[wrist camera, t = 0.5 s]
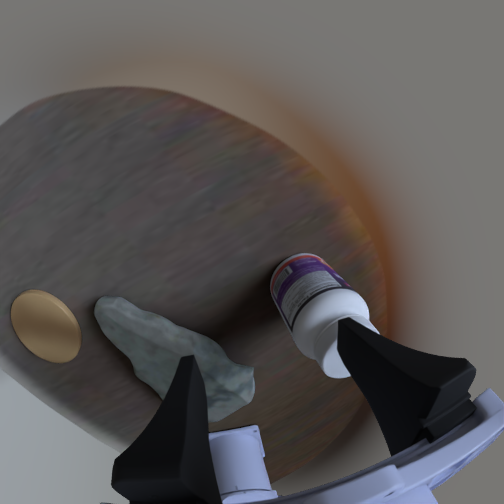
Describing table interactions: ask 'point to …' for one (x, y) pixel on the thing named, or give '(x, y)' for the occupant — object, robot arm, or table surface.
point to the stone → (174, 355)
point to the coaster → (46, 326)
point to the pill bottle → (316, 308)
